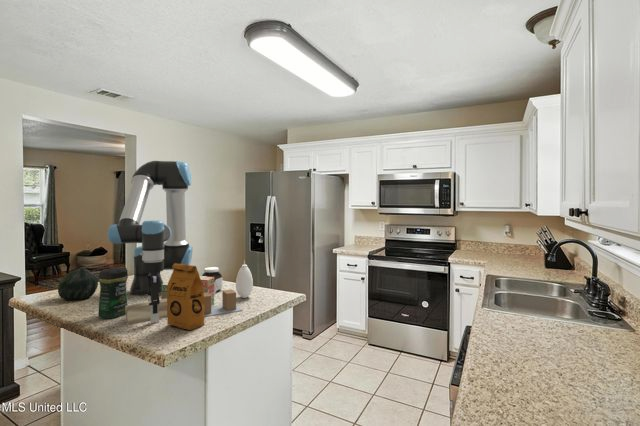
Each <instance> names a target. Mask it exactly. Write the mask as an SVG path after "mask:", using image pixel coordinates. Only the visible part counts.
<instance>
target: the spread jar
mask: <svg viewBox="0 0 640 426" xmlns="http://www.w3.org/2000/svg"><path fill="white" fill-rule="evenodd" d="M201 276H207V277H214V294H215V293H218V292H220V291H221V289H222V288H223V275H222V273H221V272H220V271H219V267H216V266H211V267H205V268H204V272H203V273H202V274H201Z"/></svg>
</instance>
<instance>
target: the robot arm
mask: <svg viewBox="0 0 640 426" xmlns="http://www.w3.org/2000/svg"><path fill="white" fill-rule="evenodd" d="M130 183H131V187H130V190H129V192H128V196H127V199H126V201H125V204H124V205H123V206H124V207H123V209H122V212H121V215H120V218H119V221H118V224H117V223H115V224H111V225H110V226H109V227H108V230H107V238H108V240H109V242H110V243H112V244H141V245H139V246H137V247H135V248H134V250H133V279H132V282H131V284H130V287H129V294H130V295H135V296H146V295H147V302H150V301H151V303H149V305H151V320H150V323H151V324H152V323H157V322H158V323H159V322H160V318H159V303H160V301H159V300H160V293H161V285H162V284H164V282H163V279H162V276H161V272H163V271H164V270H165V271H167V270H170V271H171V270H172V271H173V270H174V268H172V266H173V265H174V264H184V265H191V263H192V258H193V246H192V245H190V242H189V241H188V240H187V238H186V232H187V231H186V191H188V190H189V187H190V186H191V185H192V173H191V169H190V167H189V164H188V163H187V162H185V161H173V160H170V161H168V160H166V161H165V160H164V161H163V160H151V161H148V162H145V163H144V164H142V165H141V166H140V167H138V168H137V169H136V170H135V172H134V173H133V175H132V177H131V180H130ZM154 186H162V188H161V189H162V190H163V191H164V192H165V205H166V209H165V211H166V224H164V221H163V220H144V221H142V224H140V223H141V220H142V217H143V215H144V211H145V207H146V204H147V200H148V199H149V198H148V197H149V194H150V191H151V190H152V189H153V188H154ZM156 300H157V301H156Z"/></svg>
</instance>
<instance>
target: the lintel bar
mask: <svg viewBox="0 0 640 426" xmlns="http://www.w3.org/2000/svg"><path fill="white" fill-rule="evenodd" d="M156 301H157V300H156ZM159 301H160V303H159V319H161V318H164V317H167V299H161V298H160V299H159ZM149 303H151V301H150V302H148V301H145V302H141V303H134V304H129V305H127V306H125V314H124V315H125V322H126V324H127V325H131V324H136V323H141V322H145V321H151V305H149Z"/></svg>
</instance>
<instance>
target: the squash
mask: <svg viewBox="0 0 640 426" xmlns="http://www.w3.org/2000/svg"><path fill="white" fill-rule="evenodd" d="M98 285H99V279H98V277H97V276H96V275H95V274H94V273H93V272H91V271H90V270H89V269H87V268H85V267H79V268H77V269H74V270H72V271H69V272H67V273H66V274H64V276H62V278H61V279H60V280H59V283H58V285H57V286H58V287H57V292H58V293H57V294H58V296H59V297H60V298H61V299H63V300H64V301H65V300H73V299H74V300H78V299H79V300H86V299H88V298H91V297H92V296H93V295H94V294H95V293H96V290H97V288H98V287H99V286H98Z"/></svg>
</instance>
